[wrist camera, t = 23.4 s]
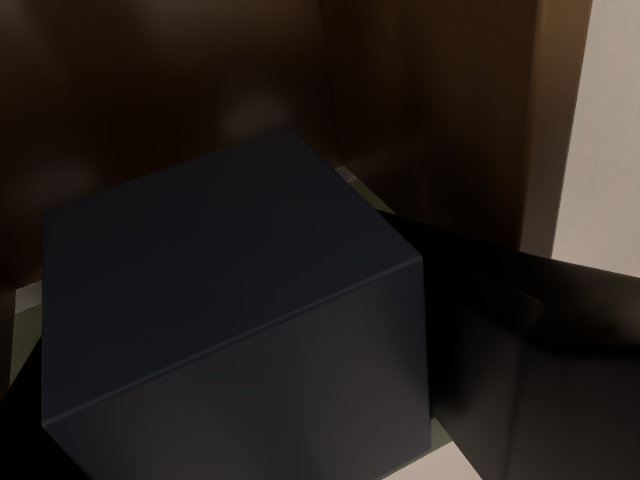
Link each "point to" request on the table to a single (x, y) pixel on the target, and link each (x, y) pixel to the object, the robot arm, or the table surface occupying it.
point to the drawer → (288, 110)
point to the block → (233, 324)
